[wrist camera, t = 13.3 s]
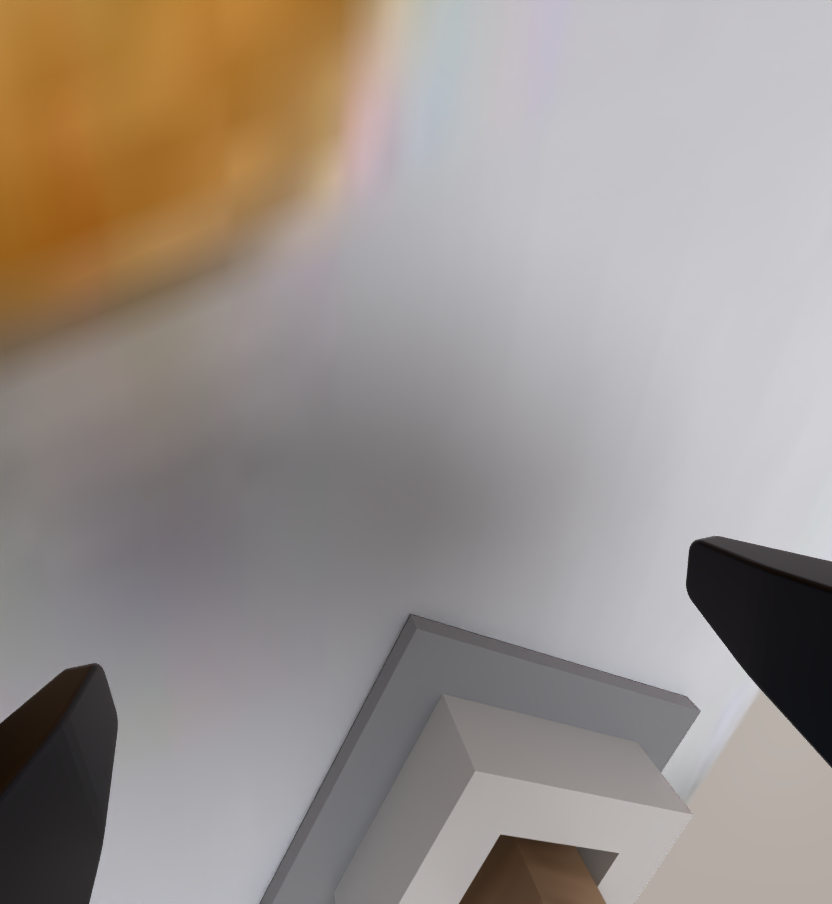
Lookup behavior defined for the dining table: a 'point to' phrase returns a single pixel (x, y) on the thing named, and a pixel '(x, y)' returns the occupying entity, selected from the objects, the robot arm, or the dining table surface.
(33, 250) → the dining table surface
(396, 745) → the socket board
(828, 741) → the robot arm
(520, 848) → the walnut peg
